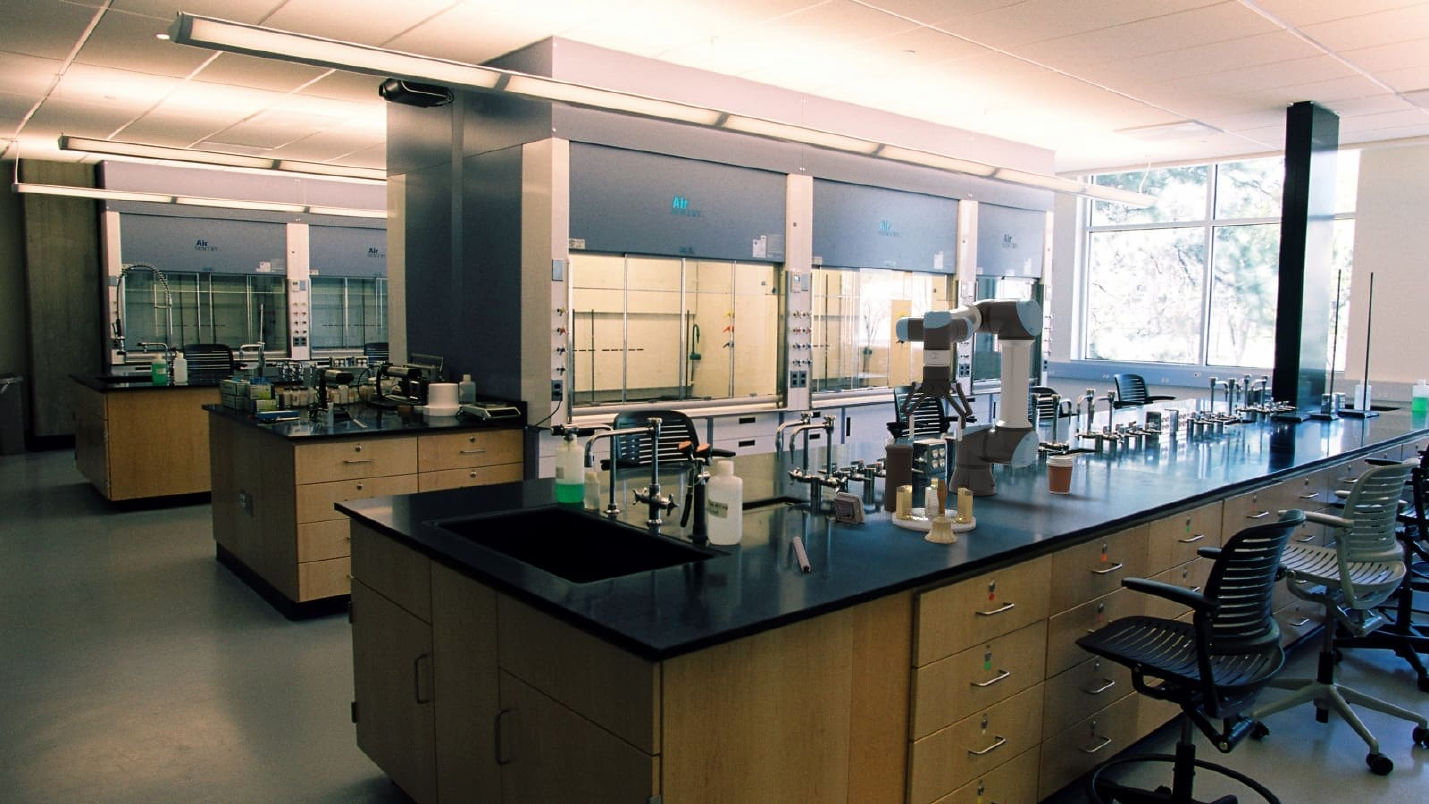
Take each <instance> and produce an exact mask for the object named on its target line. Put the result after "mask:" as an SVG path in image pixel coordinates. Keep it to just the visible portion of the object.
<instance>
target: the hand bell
mask: <svg viewBox="0 0 1429 804" xmlns="http://www.w3.org/2000/svg"><path fill="white" fill-rule="evenodd" d="M947 496H948V487H947V484H946V480H945V479H943V478H942V479H939V480H938V487H937V498H938V501H939V511H938V513H939V515H938V517H937V518H934V519H933V524H932V528H931V530H930V532H928V534H926V535H925V537H924V540H926V541H927V542H931V543H933V544H954V543H957V542H958V538H957V536H955V534H954V533H953V532H952V529H951V522H950V520H949V519H948V518H946V517H945V509H946V500H947Z"/></svg>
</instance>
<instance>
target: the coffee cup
mask: <svg viewBox="0 0 1429 804" xmlns="http://www.w3.org/2000/svg"><path fill="white" fill-rule="evenodd" d="M1045 464H1046V465H1047V470H1048V492H1049V493H1050V494H1055V495H1070V491H1071V490H1070V488H1071V483H1072V475H1073V467H1075V466H1076V465H1075V464H1076V463H1075V462H1074V461H1073V458H1072V457H1071V456H1066V455H1065V456H1064V455H1052V456H1049V459H1047V460H1046V461H1045Z"/></svg>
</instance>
